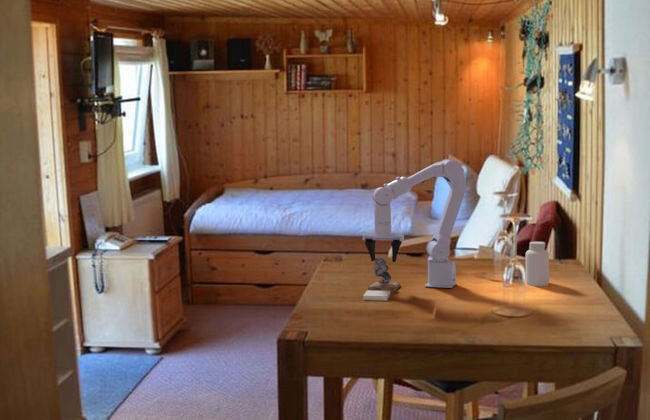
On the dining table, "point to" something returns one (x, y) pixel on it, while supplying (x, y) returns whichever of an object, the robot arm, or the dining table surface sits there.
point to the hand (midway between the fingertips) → (383, 261)
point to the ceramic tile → (376, 295)
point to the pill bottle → (537, 265)
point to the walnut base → (384, 287)
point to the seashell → (382, 270)
